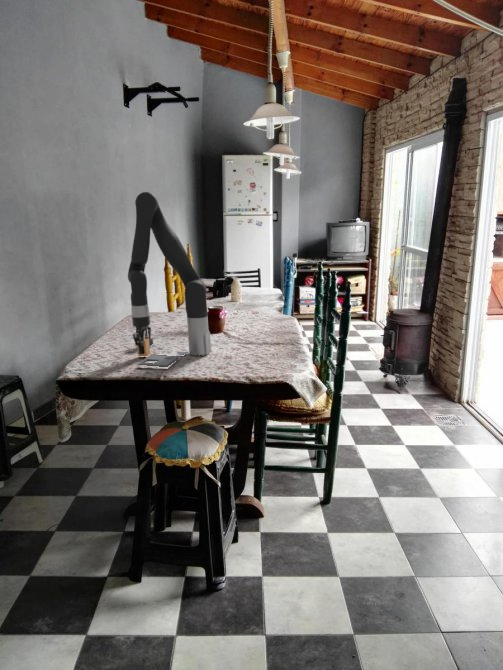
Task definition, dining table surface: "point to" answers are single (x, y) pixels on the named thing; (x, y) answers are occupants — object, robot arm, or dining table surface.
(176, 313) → the dining table surface
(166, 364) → the outlet plate
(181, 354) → the phone
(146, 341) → the block
